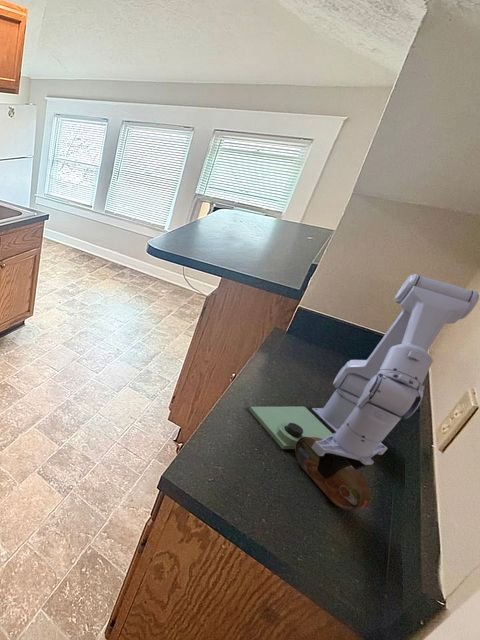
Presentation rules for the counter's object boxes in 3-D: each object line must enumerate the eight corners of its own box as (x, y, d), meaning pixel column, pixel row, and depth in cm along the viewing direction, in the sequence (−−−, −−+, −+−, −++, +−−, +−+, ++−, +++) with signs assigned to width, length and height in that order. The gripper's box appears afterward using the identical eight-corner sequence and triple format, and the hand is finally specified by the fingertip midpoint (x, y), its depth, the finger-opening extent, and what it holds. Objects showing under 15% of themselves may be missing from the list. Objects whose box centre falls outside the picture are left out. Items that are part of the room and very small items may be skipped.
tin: (289, 453, 88) (302, 428, 84) (302, 452, 88) (316, 427, 84) (347, 520, 75) (365, 493, 71) (361, 518, 75) (381, 492, 71)
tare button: (293, 427, 92) (296, 422, 91) (303, 437, 90) (306, 432, 89) (282, 427, 92) (285, 422, 91) (291, 438, 89) (295, 433, 88)
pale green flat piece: (302, 409, 102) (307, 401, 100) (343, 449, 91) (349, 441, 90) (248, 409, 100) (253, 401, 98) (283, 451, 89) (289, 442, 88)
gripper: (349, 448, 69) (313, 493, 76) (417, 446, 71) (376, 491, 77) (317, 417, 75) (286, 461, 82) (380, 416, 77) (345, 460, 84)
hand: (328, 473), depth 80 cm, fingers closed on tin, 2 cm apart
